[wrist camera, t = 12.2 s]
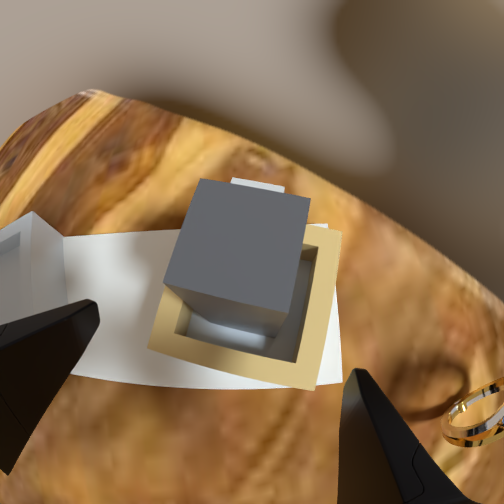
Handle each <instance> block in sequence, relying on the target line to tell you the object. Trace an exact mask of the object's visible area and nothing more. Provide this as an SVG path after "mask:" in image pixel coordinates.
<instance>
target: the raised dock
mask: <svg viewBox="0 0 504 504" xmlns="http://www.w3.org/2000/svg"><path fill="white" fill-rule="evenodd" d="M63 237H64V236H63V235H61V234H60V233H59V232H58V231H56V230H55V229H54V228H53V227H51V226H50V225H49V224H48V223H46V222H45V221H44V220H43V219H42V218H40V217H39V216H38V215H37V214H36V213H34V212H33V211H31V212H30V213H28V214H26V215H24V216H23V217H21V218H19V219H18V220H16V221H14V222H12V223H11V224H9V225H7V226H6V227H4V228H3V229H1V230H0V325H2V324H5V323H9V322H12V321H15V320H19V319H22V318H25V317H28V316H32V315H35V314H38V313H41V312H45V311H48V310H51V309H54V308H58V307H61V306H64V305H68V298H67V290H66V280H65V268H64V253H63Z"/></svg>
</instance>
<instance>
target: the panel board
mask: <svg viewBox="0 0 504 504" xmlns="http://www.w3.org/2000/svg"><path fill="white" fill-rule="evenodd" d="M310 225H314V226H319V227H323V228H328V224H310ZM180 230H181V229H175V230H157V231H141V232H126V233H111V234H97V235H84V236H72V237H63V253H64V268H65V280H66V290H67V298H68V304H71V303H74V302H77V301H81V300H84V299H90V300H93V301H95V302H97V304H98V309H99V315H100V325H99V327H98V329H97V330H96V332H95V334H94V336H93V337H92V339H91V341H90V343H89V345H88V346H87V348H86V350H85V352H84V353H83V355H82V357H81V358H80V360H79V361H78V363H77V364H76V366H75V367H74V369H73V370H72V371H71V373H70V374H75V375H80V376H86V377H91V378H97V379H104V380H110V381H117V382H125V383H133V384H142V385H152V386H164V387H178V388H197V389H268V388H287V387H288V386H283V385H278V384H273V383H269V382H264V381H259V380H255V379H251V378H246V377H242V376H238V375H234V374H230V373H226V372H222V371H218V370H215V369H211V368H208V367H204V366H201V365H197V364H194V363H190V362H187V361H184V360H181V359H177V358H174V357H171V356H168V355H165V354H162V353H159V352H156V351H153V350H150V349H147V346H148V342H149V339H150V335H151V331H152V328H153V324H154V321H155V318H156V314H157V311H158V308H159V304H160V301H161V298H162V294H163V291H164V288H165V284H164V283H163V279H164V276H165V273H166V270H167V267H168V264H169V261H170V259H171V256H172V253H173V250H174V247H175V244H176V241H177V239H178V236H179V233H180ZM341 382H342V361H341V344H340V330H339V318H338V307H337V296H336V287H335V290H334V296H333V302H332V308H331V314H330V319H329V325H328V330H327V335H326V340H325V345H324V350H323V355H322V360H321V365H320V369H319V374H318V378H317V382H316V385H323V384H333V383H341Z"/></svg>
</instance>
